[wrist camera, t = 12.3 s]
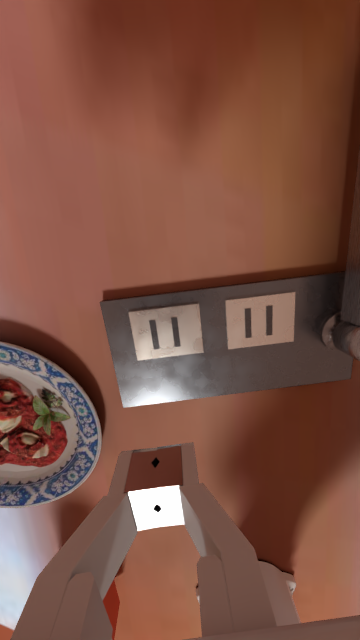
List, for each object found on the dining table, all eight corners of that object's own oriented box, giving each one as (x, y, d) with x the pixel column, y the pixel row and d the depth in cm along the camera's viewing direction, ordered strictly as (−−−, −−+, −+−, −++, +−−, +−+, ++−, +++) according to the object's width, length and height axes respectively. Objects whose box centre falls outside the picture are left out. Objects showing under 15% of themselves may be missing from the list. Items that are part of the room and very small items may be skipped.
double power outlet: (347, 374, 28) (362, 383, 25) (125, 402, 27) (121, 414, 25) (360, 269, 24) (379, 269, 22) (102, 300, 24) (95, 304, 21)
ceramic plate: (-45, 502, 31) (-67, 526, 28) (-135, 347, 24) (-177, 358, 21) (122, 479, 31) (117, 501, 28) (80, 319, 24) (68, 327, 21)
